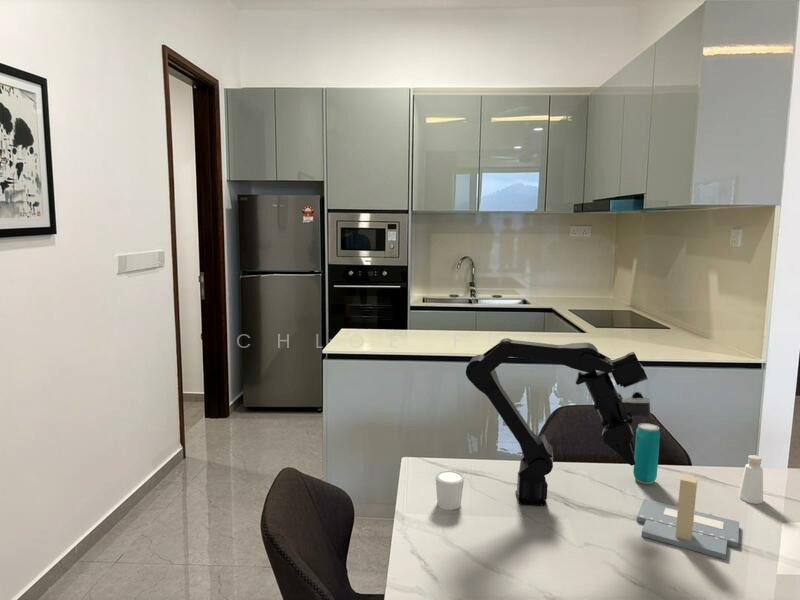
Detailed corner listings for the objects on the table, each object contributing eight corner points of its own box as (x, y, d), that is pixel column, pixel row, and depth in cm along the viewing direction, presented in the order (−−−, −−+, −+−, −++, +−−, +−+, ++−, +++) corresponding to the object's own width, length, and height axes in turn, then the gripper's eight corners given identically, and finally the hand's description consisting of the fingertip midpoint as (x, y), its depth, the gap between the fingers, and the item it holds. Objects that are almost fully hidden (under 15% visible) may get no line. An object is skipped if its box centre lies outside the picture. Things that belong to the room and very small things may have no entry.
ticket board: (636, 521, 131) (637, 515, 131) (643, 503, 140) (644, 498, 140) (737, 548, 121) (738, 542, 121) (738, 526, 130) (739, 521, 129)
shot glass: (431, 507, 136) (431, 479, 135) (440, 495, 143) (440, 468, 142) (458, 513, 134) (459, 485, 133) (466, 500, 140) (467, 473, 139)
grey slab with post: (641, 536, 125) (646, 474, 123) (645, 523, 130) (650, 464, 128) (725, 559, 117) (732, 494, 115) (726, 545, 122) (733, 482, 120)
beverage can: (653, 477, 154) (658, 423, 152) (658, 486, 149) (662, 431, 147) (631, 474, 155) (635, 421, 153) (634, 484, 150) (638, 429, 148)
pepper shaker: (741, 491, 147) (745, 450, 145) (766, 499, 143) (770, 457, 141) (735, 498, 143) (739, 456, 141) (760, 506, 139) (764, 463, 137)
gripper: (639, 393, 121) (671, 461, 120) (637, 374, 139) (665, 434, 138) (589, 410, 125) (619, 476, 124) (593, 389, 143) (620, 448, 142)
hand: (633, 457), depth 132 cm, fingers open, 9 cm apart
